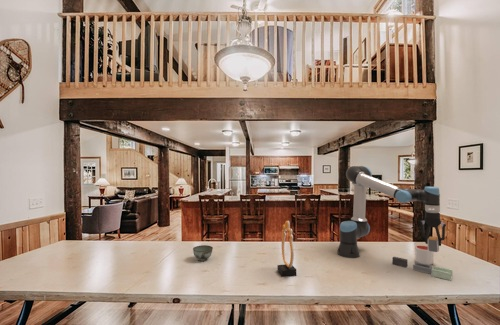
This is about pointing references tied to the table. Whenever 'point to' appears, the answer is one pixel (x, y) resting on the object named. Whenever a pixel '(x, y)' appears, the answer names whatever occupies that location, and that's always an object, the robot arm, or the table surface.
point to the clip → (422, 268)
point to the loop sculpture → (287, 268)
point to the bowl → (202, 252)
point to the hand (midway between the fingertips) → (433, 250)
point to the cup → (423, 255)
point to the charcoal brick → (399, 261)
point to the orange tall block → (433, 244)
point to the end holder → (442, 273)
